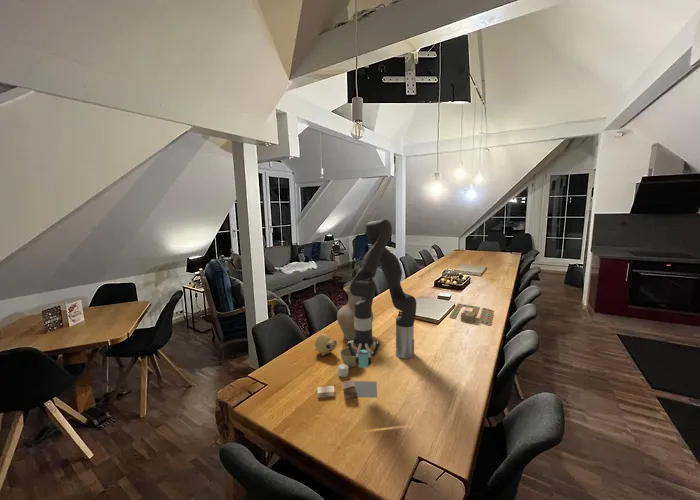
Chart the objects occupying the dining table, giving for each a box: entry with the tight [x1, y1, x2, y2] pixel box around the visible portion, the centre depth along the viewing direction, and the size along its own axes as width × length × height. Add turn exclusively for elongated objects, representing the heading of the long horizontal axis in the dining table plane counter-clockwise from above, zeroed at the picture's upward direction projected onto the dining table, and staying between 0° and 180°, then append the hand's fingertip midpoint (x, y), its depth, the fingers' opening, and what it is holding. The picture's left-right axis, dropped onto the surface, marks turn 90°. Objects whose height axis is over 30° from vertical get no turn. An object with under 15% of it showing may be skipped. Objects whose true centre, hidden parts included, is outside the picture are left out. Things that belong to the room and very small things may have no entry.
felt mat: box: [354, 380, 378, 398], centre depth 129 cm, size 11×11×1 cm
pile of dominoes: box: [448, 303, 494, 327], centre depth 213 cm, size 35×27×6 cm
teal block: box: [358, 350, 369, 369], centre depth 127 cm, size 4×4×6 cm
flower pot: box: [339, 346, 357, 369], centre depth 149 cm, size 10×10×7 cm
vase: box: [336, 285, 374, 341], centre depth 179 cm, size 22×22×30 cm
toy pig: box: [314, 333, 338, 357], centre depth 160 cm, size 10×12×11 cm
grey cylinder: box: [337, 363, 350, 378], centre depth 140 cm, size 5×5×4 cm
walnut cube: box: [341, 378, 358, 400], centre depth 125 cm, size 5×5×5 cm
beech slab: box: [317, 385, 335, 399], centre depth 126 cm, size 7×4×3 cm, turn 96°
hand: (363, 364), depth 127 cm, fingers closed on teal block, 4 cm apart
